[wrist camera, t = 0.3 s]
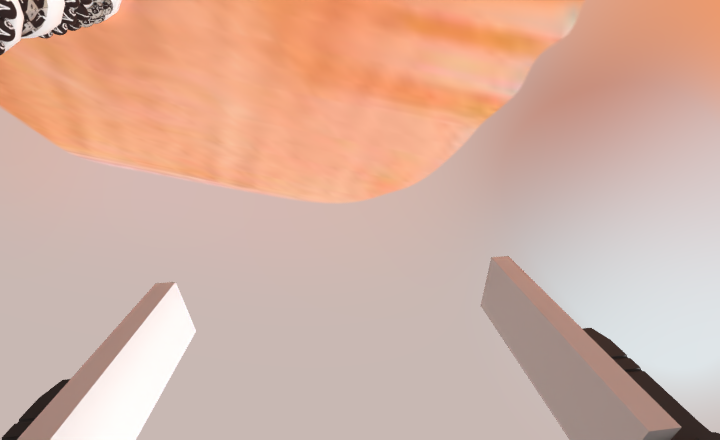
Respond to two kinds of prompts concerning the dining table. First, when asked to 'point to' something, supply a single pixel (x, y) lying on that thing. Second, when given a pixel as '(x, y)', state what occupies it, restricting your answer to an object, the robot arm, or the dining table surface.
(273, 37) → the dining table surface
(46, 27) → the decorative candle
